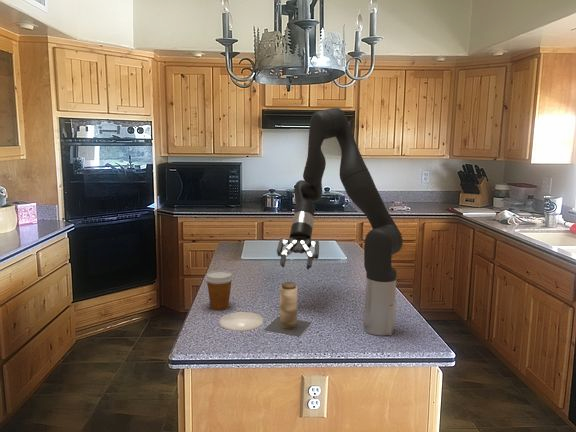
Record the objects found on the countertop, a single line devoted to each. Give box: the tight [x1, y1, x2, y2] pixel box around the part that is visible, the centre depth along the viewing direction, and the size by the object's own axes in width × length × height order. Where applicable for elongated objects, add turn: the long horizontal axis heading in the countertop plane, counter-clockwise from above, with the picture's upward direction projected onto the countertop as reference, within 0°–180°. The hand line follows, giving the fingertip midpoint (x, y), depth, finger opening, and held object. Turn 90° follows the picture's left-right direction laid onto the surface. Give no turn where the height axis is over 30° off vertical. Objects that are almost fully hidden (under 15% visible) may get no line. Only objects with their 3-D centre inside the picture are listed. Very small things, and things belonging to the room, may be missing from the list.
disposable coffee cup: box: [205, 270, 234, 311], centre depth 165 cm, size 10×10×12 cm
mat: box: [263, 316, 313, 338], centre depth 150 cm, size 12×12×1 cm
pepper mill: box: [279, 281, 298, 330], centre depth 148 cm, size 5×5×14 cm
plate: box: [219, 311, 264, 332], centre depth 152 cm, size 14×14×1 cm
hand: (295, 267), depth 157 cm, fingers open, 8 cm apart
